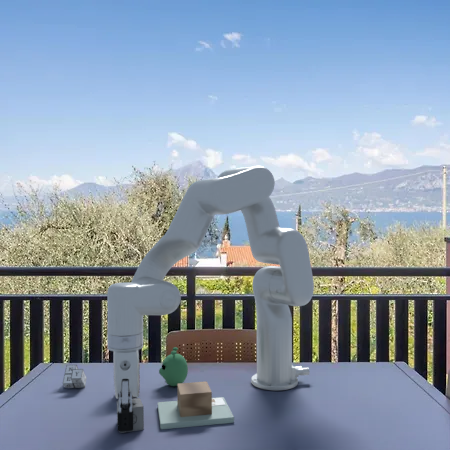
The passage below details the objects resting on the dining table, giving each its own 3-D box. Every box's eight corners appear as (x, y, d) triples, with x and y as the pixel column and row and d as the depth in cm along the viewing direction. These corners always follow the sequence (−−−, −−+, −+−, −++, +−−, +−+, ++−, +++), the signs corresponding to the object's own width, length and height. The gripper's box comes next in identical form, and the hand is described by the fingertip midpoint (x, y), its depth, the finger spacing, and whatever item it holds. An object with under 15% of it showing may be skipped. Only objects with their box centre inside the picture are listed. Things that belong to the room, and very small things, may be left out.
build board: (223, 401, 116) (223, 396, 116) (234, 422, 104) (234, 416, 104) (157, 407, 113) (157, 401, 113) (160, 429, 101) (160, 423, 101)
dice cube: (119, 433, 100) (119, 409, 100) (117, 423, 104) (116, 400, 104) (143, 429, 101) (143, 406, 101) (140, 420, 106) (139, 397, 106)
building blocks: (66, 392, 129) (60, 378, 123) (70, 374, 132) (64, 359, 126) (86, 392, 129) (81, 378, 123) (90, 373, 132) (84, 359, 127)
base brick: (207, 402, 113) (206, 381, 113) (211, 414, 106) (211, 392, 106) (177, 404, 111) (177, 383, 111) (180, 417, 105) (180, 394, 104)
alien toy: (160, 381, 131) (160, 345, 131) (188, 380, 131) (188, 344, 131) (157, 390, 124) (157, 352, 124) (187, 390, 124) (186, 352, 124)
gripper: (144, 350, 95) (144, 440, 95) (142, 330, 112) (142, 407, 112) (105, 352, 93) (105, 444, 93) (109, 332, 110) (109, 410, 110)
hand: (125, 423), depth 103 cm, fingers closed on dice cube, 5 cm apart
